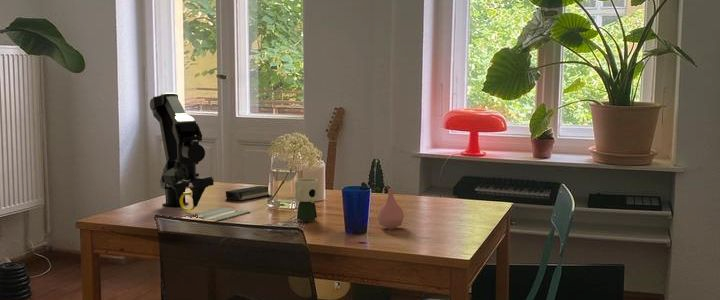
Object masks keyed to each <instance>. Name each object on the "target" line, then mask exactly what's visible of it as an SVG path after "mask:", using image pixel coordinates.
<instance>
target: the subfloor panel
mask: <svg viewBox="0 0 720 300" xmlns="http://www.w3.org/2000/svg"><path fill="white" fill-rule="evenodd" d="M250 213H251V211H250V210H249V211H248V210H244V209H243V210H242V209H235V208H230V207H223V206H221V207H216V208H211V209H208V210H203V211H199V212H196V213H193V214H187V215H183V216H182V217H186V216H188V217H190V218H192V217H196V216H197V217H196V218H198V215H203V217H199V218H201V219H203V220H204V219H207V220H209V219H211V220H215V219H216V220H221V221H224V219H225V220H228V219H227V218H229V219H232V218H236V217H240V216H244V215H247V214H250ZM194 214H195V215H194ZM243 214H244V215H243ZM239 215H240V216H239ZM235 216H236V217H235ZM231 217H232V218H231Z"/></svg>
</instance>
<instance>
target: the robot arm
mask: <svg viewBox="0 0 720 300" xmlns="http://www.w3.org/2000/svg"><path fill="white" fill-rule="evenodd" d="M149 108H150V110H151V112H152V115H153V117H154V118H155V119H156V120H157V122H158V123H159V127H160V132H161V133H160V134H161V140H162V145H163V149H164V151H163V152H164V156H165V164H164V166H163V169H162V174H161V178H160V181H159V182H160V188H161V189H163V190H164V193H165V202H164V203H162V206H165V207H171V208H177V207H181V205H180V197H181V195H182V194H183V192H186V188H188V189H190V192H192V197H193V199H192V206H193V205H194V207H195V208H197V207H198V204H199V202H200V201H201V198H202V196H203V194H204V192H205V189H206V188H208V187H211V186H214V183H215V182H214V178H213V177H212V176H207V175H201V176H200V173H198V172H197V165H199V163H200V162H201V161H203V160H204V158H205V157H206V150H205V148H204V146H203V145H201V144H199V143H200V142H202V141H203V134H202V131H201V128H200V126H199V124H198V123H197V121H196V120H195V118H194V117H193V116H191V115H189V114H187V112H186V111H185V109H184V107H183V105H182V104H181V101H180V99H179V95H178V93H177V92H176V93H175V92H163V93H161V94H160V95H157V96H153V97H152V98H151V99H150V100H149ZM190 184H192V186H190ZM192 197H191V198H192ZM186 201H187V200H186V195H184V197H183V204H184V206H187V205H189V203H190V202H186Z"/></svg>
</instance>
